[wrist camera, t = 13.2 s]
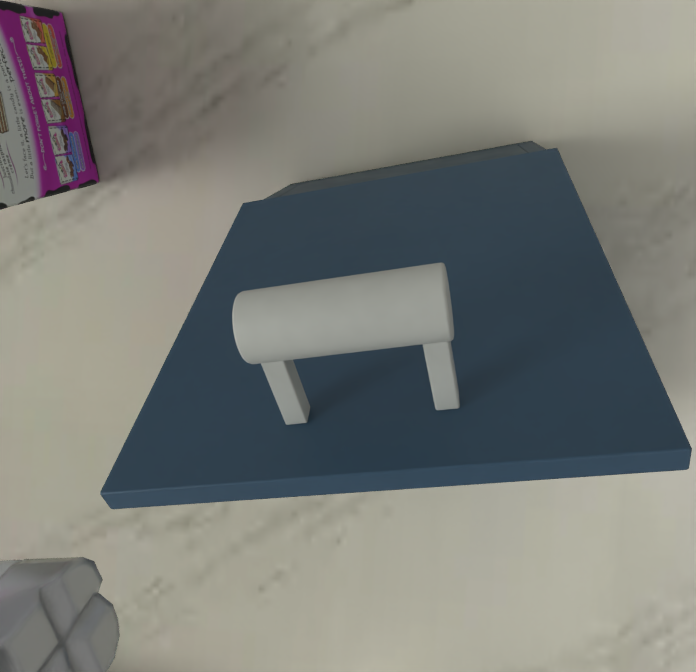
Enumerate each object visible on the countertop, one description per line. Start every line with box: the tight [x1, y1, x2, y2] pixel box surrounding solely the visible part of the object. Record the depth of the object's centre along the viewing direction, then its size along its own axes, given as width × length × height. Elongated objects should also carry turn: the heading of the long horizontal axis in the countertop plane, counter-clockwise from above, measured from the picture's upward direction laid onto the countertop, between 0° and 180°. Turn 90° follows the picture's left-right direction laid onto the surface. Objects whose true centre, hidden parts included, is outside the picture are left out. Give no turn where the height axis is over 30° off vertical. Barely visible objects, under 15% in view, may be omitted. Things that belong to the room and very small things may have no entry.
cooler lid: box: [100, 148, 692, 509], centre depth 23 cm, size 19×16×5 cm
